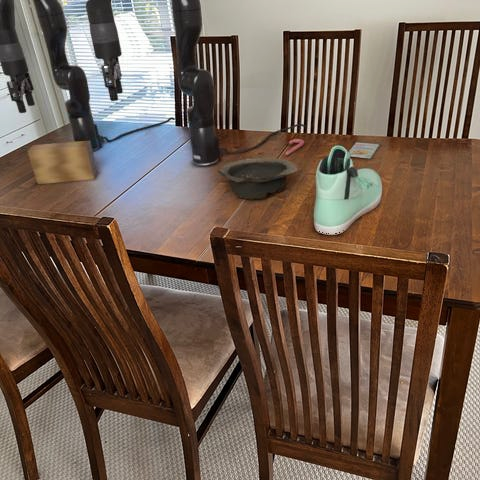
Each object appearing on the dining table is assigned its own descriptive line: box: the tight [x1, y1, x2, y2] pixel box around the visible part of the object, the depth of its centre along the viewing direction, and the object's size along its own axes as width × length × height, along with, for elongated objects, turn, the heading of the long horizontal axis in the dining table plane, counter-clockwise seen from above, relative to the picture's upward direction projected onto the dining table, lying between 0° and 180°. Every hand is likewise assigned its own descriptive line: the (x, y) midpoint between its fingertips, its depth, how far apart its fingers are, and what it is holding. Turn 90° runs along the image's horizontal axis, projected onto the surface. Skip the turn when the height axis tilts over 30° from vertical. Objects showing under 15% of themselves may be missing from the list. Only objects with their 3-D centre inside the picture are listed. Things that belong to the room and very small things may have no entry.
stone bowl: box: [217, 157, 299, 201], centre depth 152 cm, size 25×25×9 cm
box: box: [27, 141, 99, 185], centre depth 170 cm, size 20×6×12 cm, turn 93°
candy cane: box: [284, 138, 305, 156], centre depth 182 cm, size 6×15×2 cm, turn 145°
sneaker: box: [313, 145, 383, 236], centre depth 133 cm, size 14×35×20 cm, turn 152°
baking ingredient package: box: [347, 141, 380, 159], centre depth 175 cm, size 9×1×15 cm
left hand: (27, 109), depth 160 cm, fingers open, 8 cm apart
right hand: (117, 96), depth 145 cm, fingers open, 8 cm apart
